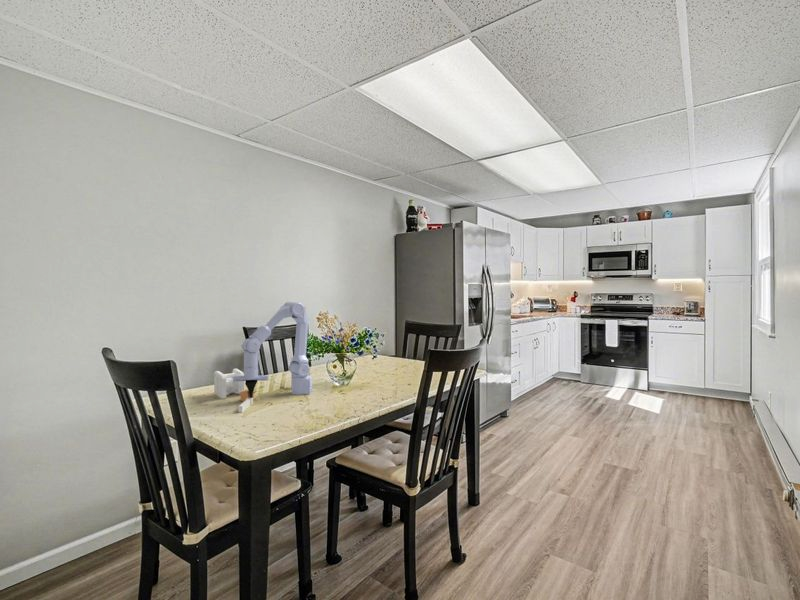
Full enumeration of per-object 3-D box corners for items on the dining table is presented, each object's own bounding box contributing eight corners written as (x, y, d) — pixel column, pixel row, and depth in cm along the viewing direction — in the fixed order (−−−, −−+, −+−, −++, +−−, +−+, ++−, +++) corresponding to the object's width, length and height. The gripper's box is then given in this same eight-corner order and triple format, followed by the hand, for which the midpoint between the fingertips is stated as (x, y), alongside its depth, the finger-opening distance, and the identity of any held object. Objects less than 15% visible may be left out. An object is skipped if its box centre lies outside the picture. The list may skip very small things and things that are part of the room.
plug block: (254, 398, 182) (253, 389, 182) (248, 400, 178) (247, 391, 178) (246, 398, 183) (245, 390, 183) (240, 401, 179) (239, 392, 179)
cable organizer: (245, 398, 188) (245, 373, 188) (220, 402, 182) (220, 375, 181) (236, 391, 200) (236, 367, 200) (212, 394, 194) (212, 370, 193)
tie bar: (253, 403, 175) (253, 398, 175) (243, 412, 163) (243, 406, 163) (247, 403, 175) (247, 398, 175) (237, 412, 163) (237, 406, 163)
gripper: (269, 364, 184) (269, 394, 184) (235, 365, 182) (235, 395, 182) (267, 367, 177) (267, 398, 177) (231, 368, 175) (232, 399, 175)
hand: (251, 397), depth 179 cm, fingers closed, pressing on plug block
